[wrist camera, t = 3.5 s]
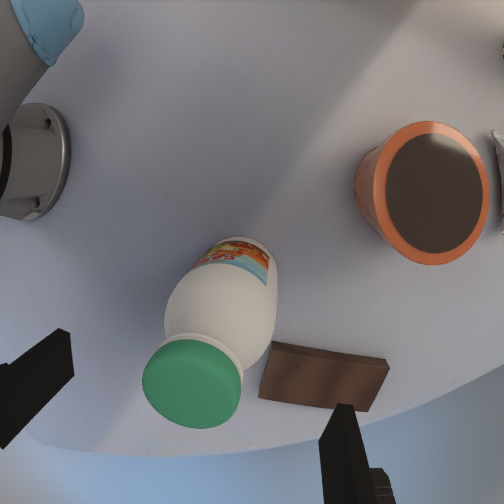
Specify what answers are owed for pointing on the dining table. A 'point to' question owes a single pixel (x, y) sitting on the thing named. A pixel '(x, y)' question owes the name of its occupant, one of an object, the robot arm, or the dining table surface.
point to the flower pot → (424, 192)
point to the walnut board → (321, 377)
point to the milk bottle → (213, 333)
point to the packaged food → (500, 165)
